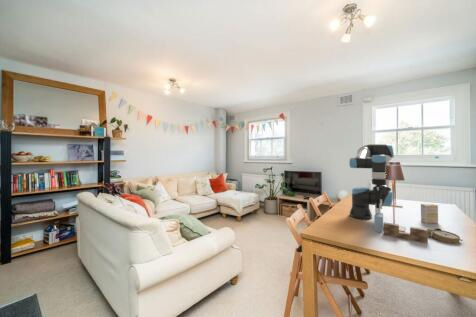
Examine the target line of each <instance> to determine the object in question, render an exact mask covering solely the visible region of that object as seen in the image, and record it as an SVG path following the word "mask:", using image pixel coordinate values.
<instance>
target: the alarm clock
mask: <svg viewBox="0 0 476 317" xmlns="http://www.w3.org/2000/svg"><path fill="white" fill-rule="evenodd" d="M426 229H427V230H428V238H433V239H434V240H437V241H439V242H442V243H446V244H460V241H461V242H462V241H463V239H461V237H460V236H459V235H458V234H456V233H453V232H450V231H447V230H442V229H441V228H438V227H436V228H433V229H431V228H426Z"/></svg>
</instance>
